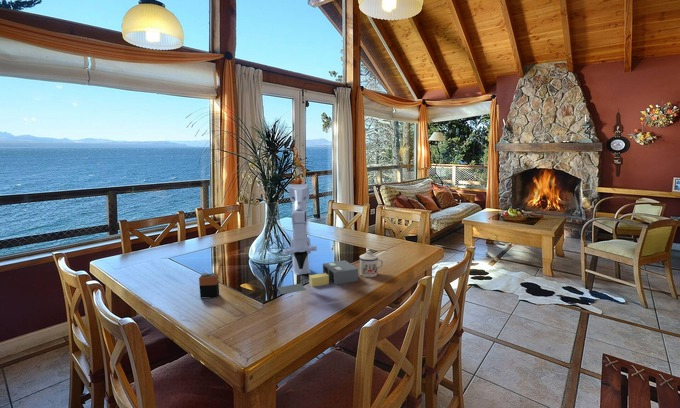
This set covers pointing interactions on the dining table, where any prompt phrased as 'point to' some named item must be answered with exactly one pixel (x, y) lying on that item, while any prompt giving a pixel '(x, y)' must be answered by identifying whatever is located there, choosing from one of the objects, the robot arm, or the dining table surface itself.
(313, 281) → the yellow block
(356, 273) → the socket box
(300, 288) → the deck mat
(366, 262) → the teacup with lid
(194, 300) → the dining table surface
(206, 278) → the battery
